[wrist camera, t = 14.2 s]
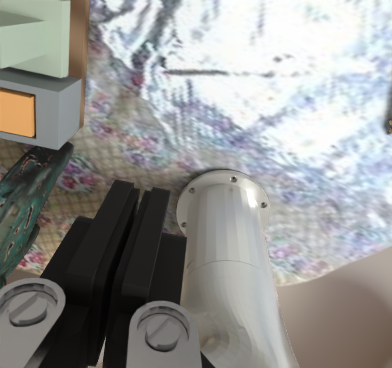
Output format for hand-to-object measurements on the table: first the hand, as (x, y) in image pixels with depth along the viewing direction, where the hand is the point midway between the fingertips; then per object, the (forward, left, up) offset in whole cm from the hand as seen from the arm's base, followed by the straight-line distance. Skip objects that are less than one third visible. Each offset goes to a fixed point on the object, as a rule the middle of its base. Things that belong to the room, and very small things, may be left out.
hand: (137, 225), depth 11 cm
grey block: (-7, +16, -30) cm, 34 cm away
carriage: (0, +16, -28) cm, 33 cm away
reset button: (-7, +16, -28) cm, 33 cm away
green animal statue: (-21, +17, -31) cm, 41 cm away
